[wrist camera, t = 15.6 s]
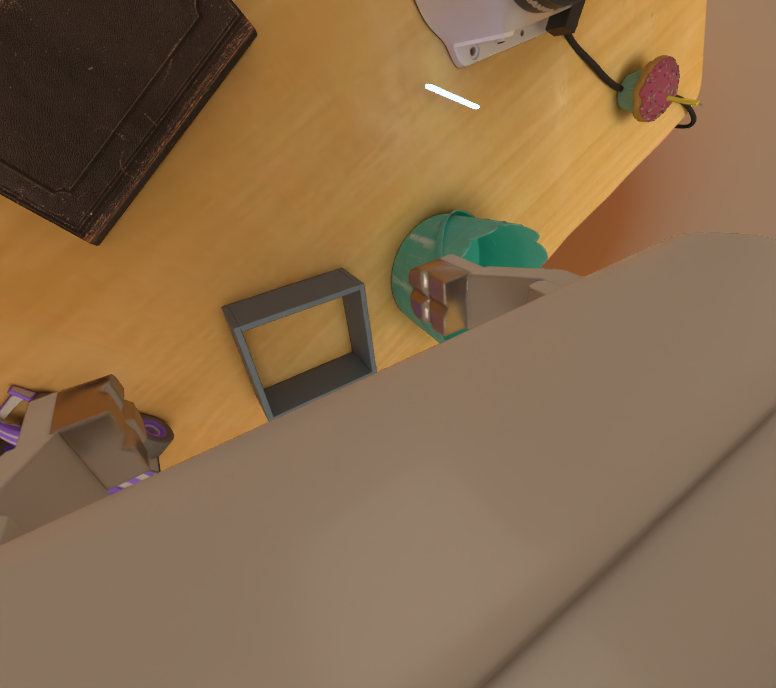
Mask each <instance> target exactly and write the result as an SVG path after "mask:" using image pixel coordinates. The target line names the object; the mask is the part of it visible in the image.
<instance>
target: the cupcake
mask: <svg viewBox="0 0 776 688" xmlns="http://www.w3.org/2000/svg"><path fill="white" fill-rule="evenodd" d="M679 75H680V74H679V65H677V63H676V60H675V59H674V58H673V57H671V56H667V55H662V56H659V57H657V58H655V59H654V60H653V61H650V62H649V63H648V64H647V65H646V66H645V68H643V69H641V70H639V71H636V72H634V73H631V74H629V75H627V76H626V77H625V79H624V80H623V81H622V83H621V86H623V87H624V89H623V91H622V92H619V91H618V97H617V102H618V105H619V107H620V108H622V109H624V110H627V111H629V112H631V113H633V116H634V118H635V119H637V121H640V122H650V121H655V120H654V119H657V117H660V115H661V114H663V113H664V112H665V111H666V109H667V108H668V107H669V106H670V104H671V103H672V102H676V103H682V104H687V105H693V106H697V105H701V106H704V105H703V104H700V103H699V101H697V100H691V99H685V98H679V97H675V96H676V94H677V89H678V88H679V87H678V83H679V78H680V76H679Z"/></svg>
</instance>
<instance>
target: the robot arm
mask: <svg viewBox="0 0 776 688" xmlns="http://www.w3.org/2000/svg"><path fill="white" fill-rule="evenodd" d="M415 1H416V4H417V6H418V9H419V11H420V13H421V15H422V16H423V18H424V20H425V21H426V23H427V24H428V26H429V27H430V28H431V29H432V31H433V32H434V33H435V34H436V35H437V36H438V37H439V38H440V39H441V40H442V41H443V42H444V43H445V45H446V47H447V49H448V52H449V54H450V56H451V58H452V61H453V62H454V64H455V65H456V66H457V67H458V68H463V67H466V66H469V65H472V64H474V63H476V62H479V61H481V60H483V59H486V58H488V57H490V56H493V55H495V54H497V53H500V52H502V51H504V50H507V49H509V48H511V47H514V46H516V45H518V44H521V43H523V42H526V41H528V40H530V39H533V38H535V37H537V36H540V35H542V34H544V33H546V32H549V33H550V34H551V35H553V36H559V35H565V36H566V39H567V41H568V43H569V44H570V45H571V46H572V48H573V49H574V50H575V52H576V53H577V54H578V55H579V56H580V57H581V58H582V59H583V60H584V61H585V62H586V63H587V64H588V65H589V66H590V67H591V68H592V69H593V70H594V71H595V72H596V73H597V74H598V76H599V77H600V78H601V79H602V80H603V81H604V82H605V83H606V84H608V85H609V86H610V87H612V88H613V89H615V90H617V91H619V92H622V91H623V89H624V87H623V86H621V85H619V84H618V83H616V82H615V81H613V80H612V79H611V78H610V77H609V76H608V75H607V74H606V73H605V72H604V71H603V70H602V69H601V68H600V66H599V65H598V64H597V63H596V62H595V61H594V60H593V59H592V58H591V57H590V56H589V55H588V54H587V53H586V52H585V51H584V50H583V49H582V48H581V47H580V45H579V44H578V43H577V42H576V41H575V39H574V38H573V36H572V33H575V30H576V27H577V25H578V21H579V18H580V15H581V12H582V9H583V6H584V3H585V0H415ZM470 49H471V54H470ZM425 88H427V89H429V90H431V91H434V92H436V93H438V94H441V95H443V96H445V97H448V98H450V99H452V100H455V101H457V102H459V103H462V104H464V105H466V106H469V107H471V108H473V109H479V105H476V104H474V103H472V102H470V101H467V100H465V99H463V98H461V97H458V96H456V95H454V94H452V93H449V92H447V91H445V90H443V89H440V88H438V87H436V86H433V85H431V84H426V86H425ZM675 97H679V98H683V97H682V96H679V95H676V96H675ZM683 106H684V107H685V108H686V109H687V111H688V112H689V114H690V116H691V123H689V124H685V125H680V124H677V125H676V126H675V128H679V129H686V128H690V127H692V126H693V125H694V124H695V122H696V114H695V112H694V110H693V109H692V107H691V105H687V104H683ZM409 284H410V285H411V286H412V287H413V290H412V293H411V295H410V302H411V307H412V310H413V312H414V314H415V315H416V317H417V318H418V319H419V320H421V321H422V322H427V323H431V328H432V329H434V330H435V331H437V332H438V333H440V334H441V335H443V336H444V337H446V336H448V335H450V334H453V333H455V332H458V331H460V330H462V329H465V328H467V329H470V330H468V331H466V332H464V333H462V334H459V335H457V336H455V337H453V338H451V339H448V340H446V341H444V342H442V343H440V344H438V345H435V346H433V347H431V348H429V349H427V350H425V351H422V352H420V353H418V354H416V355H414V356H411V357H409V358H407V359H405V360H403V361H401V362H398V363H396V364H394V365H392V366H390V367H388V368H385V369H383V370H381V371H379V372H377V373H374V374H372V375H370V376H368V377H366V378H364V379H361V380H359V381H357V382H355V383H353V384H351V385H348V386H346V387H344V388H342V389H340V390H337V391H335V392H333V393H331V394H329V395H327V396H324V397H322V398H320V399H318V400H316V401H313V402H311V403H309V404H307V405H305V406H303V407H300V408H298V409H296V410H294V411H292V412H289V413H287V414H285V415H283V416H281V417H279V418H276V419H274V420H272V421H270V422H268V423H266V424H263V425H261V426H259V427H257V428H255V429H252V430H250V431H248V432H246V433H244V434H242V435H239V436H237V437H235V438H233V439H231V440H228V441H226V442H224V443H222V444H220V445H218V446H215V447H213V448H211V449H209V450H207V451H205V452H202V453H200V454H198V455H196V456H194V457H191V458H189V459H187V460H185V461H183V462H181V463H178V464H176V465H174V466H172V467H170V468H167V469H165V470H163V471H161V472H159V473H157V474H154V475H152V476H150V477H148V478H146V479H144V480H141V481H139V482H137V483H135V484H133V485H131V486H128V487H126V488H124V489H122V490H120V491H117V492H115V493H113V494H111V495H109V496H107V494H108V493H109V492H108V490H110V489H112V488H115V487H117V486H119V485H121V484H123V483H125V482H127V481H129V480H131V479H133V478H135V477H137V476H140V475H142V474H144V473H146V472H148V471H150V462H149V451H148V449H147V448H146V446H145V445H144V442H145V441H146V439H147V433H146V428H145V425H144V422H143V419H142V417H141V415H140V413H139V411H138V410H137V408H136V406H135V405H134V403H132V402H130V401H127V400H124V388H123V387H122V385H121V384H120V382H119V381H118V379H117V378H116V377H115V376H114V375H112V374H110V375H107V376H104V377H101V378H98V379H95V380H92V381H89V382H86V383H83V384H80V385H77V386H74V387H71V388H68V389H65V390H62V391H60V392H58V391H57V392H55V393H52V394H50V395H47V396H44V397H42V398H39V399H36V400H34V401H31V402H29V404H28V407H27V410H26V414H25V417H24V420H23V424H22V427H21V430H20V434H19V437H18V440H17V444H16V447H15V448H14V449H12V450H9V451H7V452H5V453H4V454H3V455H2V456H1V457H0V688H776V239H773V238H768V237H764V236H757V235H751V234H738V233H720V232H719V233H718V232H716V233H715V232H707V233H704V232H698V233H697V232H695V233H682V234H678V235H675V236H673V237H670V238H668V239H666V240H664V241H662V242H660V243H658V244H655V245H653V246H651V247H649V248H647V249H645V250H642V251H640V252H638V253H636V254H634V255H632V256H630V257H627V258H625V259H623V260H621V261H618V262H616V263H614V264H612V265H610V266H607V267H605V268H603V269H601V270H599V271H597V272H595V273H592V274H591V275H588V276H586V277H582V276H579V275H576V274H573V273H571V272H568V271H565V270H559V269H538V268H517V267H496V266H488V267H482V266H480V265H478V264H475V263H473V262H470V261H468V260H466V259H463V258H461V257H458V256H456V255H454V254H449V255H446V256H444V257H441V258H438V259H435V260H433V261H430V262H428V263H425V264H422V265H420V266H417V267H415V268H413V269H411V270H410V272H409ZM106 496H107V497H106Z"/></svg>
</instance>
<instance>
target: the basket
mask: <svg viewBox="0 0 776 688" xmlns="http://www.w3.org/2000/svg"><path fill="white" fill-rule="evenodd" d="M539 238H540V236H539V234H538V233H537V232H536V231H534V230H532V229H530V228H527V227H524V226H523V225H521V224H514V223H507V222H505V221H502V222H501V221H494V220H489V219H479V218H475V217H474V216H473V215H471V214H470V213H468V212H466V211H463V210H455V211H453V212H451V213H450V214H439V215H435V216H434V217H430V218H429V219H426V220H425V221H424V222H421V223H420V224H419V225H418V226H416V227H415V229H414V230H412V231H411V233H410V234H409V235H408V236H407V237H406V239H405V240H404V241H403V244H402V245H401V246H400V249H399V251H398V253H397V256H396V257H395V262H394V265H393V269H392V277H391V278H392V281H391V284H392V290H393V295H394V299H395V301H396V304H397V305H398V307H399V308H400V310H401V311H402V312H403V313H404V314H405V315H407V316H408V317H409V318H410V319H411V320H413V321H414V322H415V323H416V324H417V325H418V326H420V327H421V328H422V329H423V330H425V331H426V332H427V333H428V334H430V335H431V336H432V337H433V338H434V339H435V340H437V341H438V342H439V343H442V342H444V341H446V340H448V339H451V338H453V337H455V336H457V335H459V334H462V333H464V332H466V331H468V330H470V329H467V328H465V329H462V330H460V331H458V332H455V333H453V334H450V335H448V336H446V337H444V336H443V335H441V334H440V333H438V332H437V331H435V330H434V329H432V328H431V323H427V322H422V321H421V320H419V319H418V318H417V317H416V315H415V314H414V312H413V310H412V307H411V302H410V295H411V293H412V290H413V287H412V286H411V285H410V284H409V272H410V270H411V269H413V268H415V267H417V266H420V265H422V264H425V263H428V262H430V261H433V260H435V259H438V258H441V257H444V256H446V255H449V254H454V255H456V256H458V257H461V258H463V259H466V260H468V261H470V262H473V263H475V264H478V265H480V266H482V267H488V266H496V267H517V268H538V269H543V268H542V267H541V266H540V265H542V264H544V263H545V262H546V261H547V258H548V255H547V252H546V250H545V248H544V247H543V246H542V245H541V244H539V243H537V242H536V241H537V240H538V239H539Z"/></svg>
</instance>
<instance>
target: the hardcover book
mask: <svg viewBox="0 0 776 688" xmlns="http://www.w3.org/2000/svg"><path fill="white" fill-rule="evenodd" d="M256 37H257V32H256V30H255V28H254V27H253V25H252V24H251V23H250V22H249V20H248V19H247V18H246V17H245V16H244V14H243V13H242V12H241V11H240V10H239V8H238V7H237V6H236V5H235V3H234V2H233V1H232V0H0V194H1V195H3V196H5V197H6V198H8V199H10V200H12V201H14V202H15V203H17V204H19V205H21V206H23V207H25V208H26V209H28V210H30V211H32V212H34V213H36V214H37V215H39V216H41V217H43V218H45V219H46V220H48V221H50V222H52V223H54V224H56V225H57V226H59V227H61V228H63V229H65V230H66V231H68V232H70V233H72V234H74V235H76V236H77V237H79V238H81V239H83V240H85V241H87V242H88V243H90V244H93V245H96V246H99V245H100V243H101V242H102V241H103V239H104V238H105V237H106V235H107V234H108V233H109V231H110V230H111V229H112V228H113V226H114V225H115V224H116V222H117V221H118V220H119V218H120V217H121V216H122V214H123V213H124V212H125V210H126V209H127V208H128V206H129V205H130V204H131V202H132V201H133V200H134V198H135V197H136V196H137V194H138V193H139V192H140V190H141V189H142V188H143V186H144V185H145V184H146V182H147V181H148V180H149V178H150V177H151V176H152V174H153V173H154V172H155V170H156V169H157V168H158V167H159V165H160V164H161V163H162V161H163V160H164V159H165V157H166V156H167V155H168V153H169V152H170V151H171V149H172V148H173V147H174V145H175V144H176V143H177V141H178V140H179V139H180V137H181V136H182V135H183V133H184V132H185V131H186V129H187V128H188V127H189V125H190V124H191V123H192V121H193V120H194V119H195V117H196V116H197V115H198V113H199V112H200V111H201V109H202V108H203V107H204V106H205V104H206V103H207V102H208V100H209V99H210V98H211V96H212V95H213V94H214V92H215V91H216V90H217V88H218V87H219V86H220V84H221V83H222V82H223V80H224V79H225V78H226V76H227V75H228V74H229V72H230V71H231V70H232V68H233V67H234V66H235V64H236V63H237V62H238V60H239V59H240V58H241V56H242V55H243V54H244V52H245V51H246V50H247V49H248V47H249V46H250V45H251V43H252V42H253V41H254V39H255V38H256Z"/></svg>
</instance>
